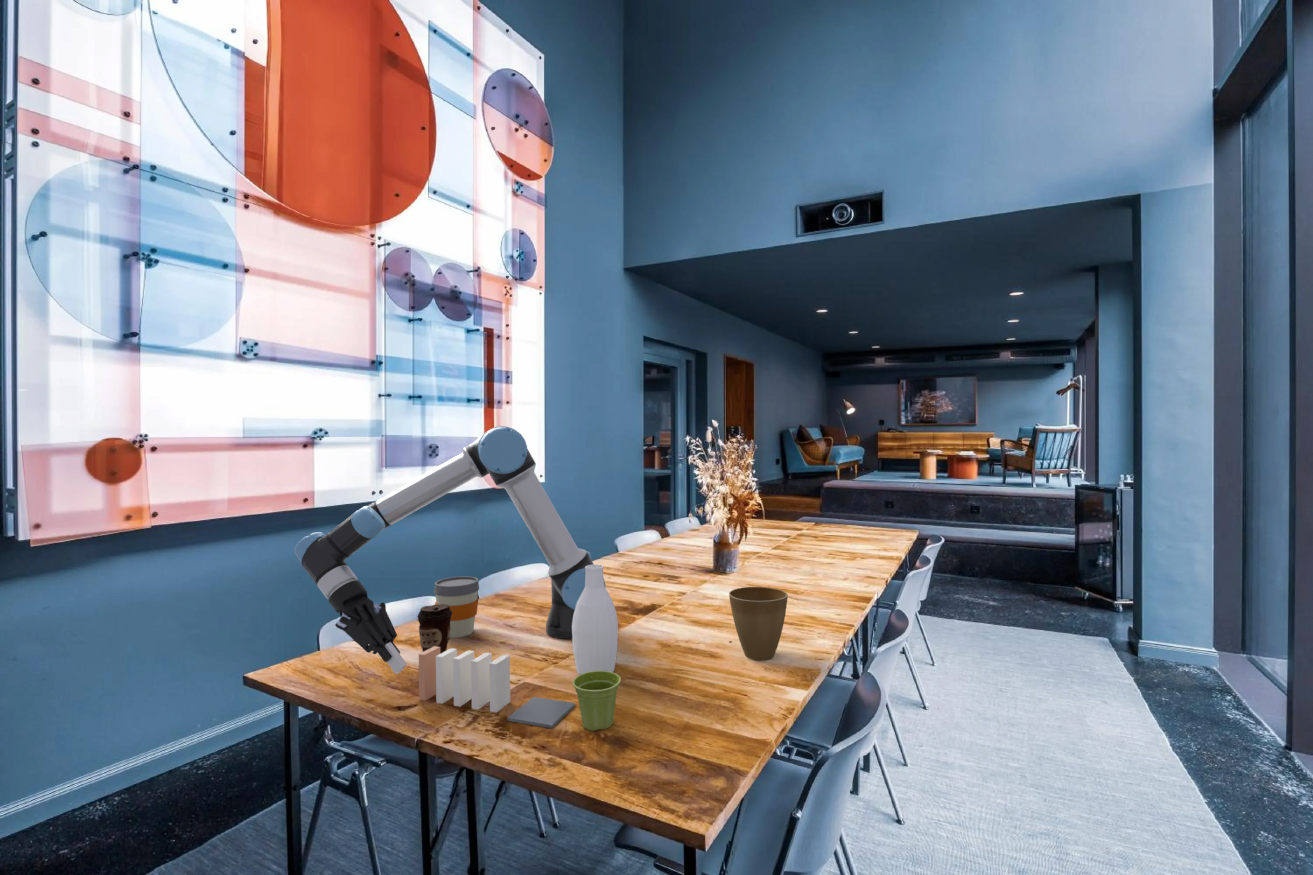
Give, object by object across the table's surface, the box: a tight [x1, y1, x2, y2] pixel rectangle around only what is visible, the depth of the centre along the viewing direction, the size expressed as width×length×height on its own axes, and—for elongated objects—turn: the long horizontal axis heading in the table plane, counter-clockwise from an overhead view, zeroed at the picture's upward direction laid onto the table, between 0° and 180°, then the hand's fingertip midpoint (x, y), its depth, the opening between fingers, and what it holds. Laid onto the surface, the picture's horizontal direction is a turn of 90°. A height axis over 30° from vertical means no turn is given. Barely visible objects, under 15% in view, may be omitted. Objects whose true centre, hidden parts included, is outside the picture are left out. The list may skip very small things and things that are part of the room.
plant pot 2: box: [728, 586, 788, 661], centre depth 151 cm, size 15×15×16 cm
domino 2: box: [435, 648, 458, 705], centre depth 128 cm, size 2×5×10 cm, turn 161°
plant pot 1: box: [572, 671, 622, 732], centre depth 116 cm, size 9×9×9 cm
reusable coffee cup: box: [433, 575, 480, 639], centre depth 172 cm, size 13×13×15 cm
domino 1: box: [418, 646, 440, 702], centre depth 130 cm, size 2×5×10 cm, turn 161°
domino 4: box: [471, 652, 493, 710], centre depth 125 cm, size 2×5×10 cm, turn 161°
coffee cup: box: [417, 604, 452, 654], centre depth 153 cm, size 9×8×13 cm
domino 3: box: [453, 650, 475, 707], centre depth 127 cm, size 2×5×10 cm, turn 161°
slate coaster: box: [507, 696, 576, 729], centre depth 121 cm, size 10×10×1 cm
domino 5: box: [489, 654, 511, 713], centre depth 124 cm, size 2×5×10 cm, turn 161°
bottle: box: [571, 564, 619, 676], centre depth 142 cm, size 11×11×25 cm
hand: (401, 669), depth 132 cm, fingers closed
